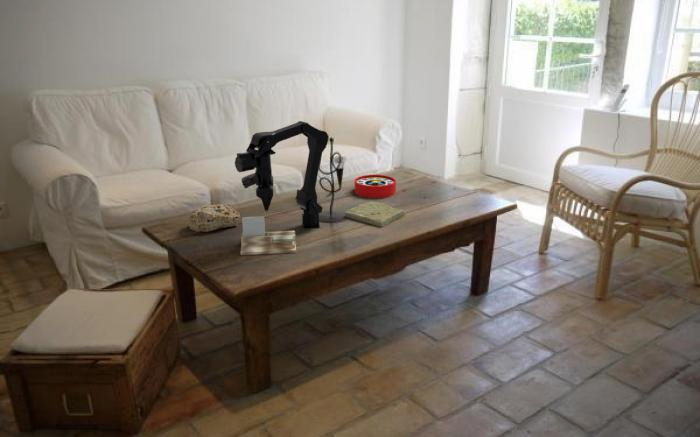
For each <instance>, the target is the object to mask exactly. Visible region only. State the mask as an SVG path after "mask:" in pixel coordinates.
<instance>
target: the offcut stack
mask: <svg viewBox="0 0 700 437" xmlns="http://www.w3.org/2000/svg"><path fill="white" fill-rule="evenodd" d="M295 243H296V240H295V241H293V235H288V236H273V239H271V241H270V249H287V248H295Z"/></svg>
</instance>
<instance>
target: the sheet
mask: <svg viewBox="0 0 700 437" xmlns="http://www.w3.org/2000/svg"><path fill="white" fill-rule="evenodd" d="M241 221H242V222H241V223H242V233H243V237H254V236H265V232H266V227H265V226H266V225H265V216H263V215H262V216H244V217H243V216H242V217H241Z"/></svg>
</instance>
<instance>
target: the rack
mask: <svg viewBox="0 0 700 437" xmlns="http://www.w3.org/2000/svg"><path fill="white" fill-rule="evenodd" d="M288 235H293V241H295V248H287V249H270V241H271V239H273V236H288ZM240 240H241V246H240V256H249V255H267V254H269V255H270V254H272V255H273V254H291V253H297V245H296V244H297V242H296V231H295V230H283V231H281V230H279V231H265V236H254V237H243V232H242V233H241V237H240Z"/></svg>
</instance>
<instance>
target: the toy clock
mask: <svg viewBox="0 0 700 437" xmlns="http://www.w3.org/2000/svg"><path fill="white" fill-rule="evenodd" d="M396 191H397V180H396V178H395V177H392V176H389V175H385V174H364V175H361V176H357V177H356V178H355V179H354V194H356V195H357V196H359V197H364V198H369V199H370V198H371V199H379V198H380V199H382V198H387V197H391V196H394V195H395V194H396V193H397V192H396Z"/></svg>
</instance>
